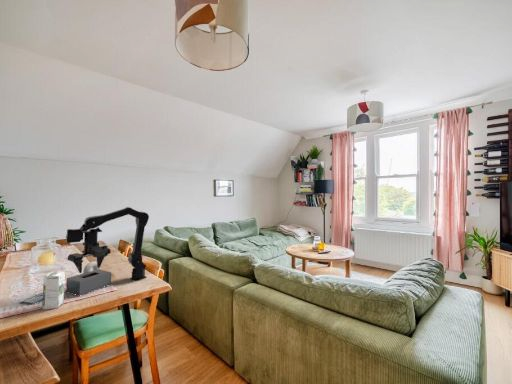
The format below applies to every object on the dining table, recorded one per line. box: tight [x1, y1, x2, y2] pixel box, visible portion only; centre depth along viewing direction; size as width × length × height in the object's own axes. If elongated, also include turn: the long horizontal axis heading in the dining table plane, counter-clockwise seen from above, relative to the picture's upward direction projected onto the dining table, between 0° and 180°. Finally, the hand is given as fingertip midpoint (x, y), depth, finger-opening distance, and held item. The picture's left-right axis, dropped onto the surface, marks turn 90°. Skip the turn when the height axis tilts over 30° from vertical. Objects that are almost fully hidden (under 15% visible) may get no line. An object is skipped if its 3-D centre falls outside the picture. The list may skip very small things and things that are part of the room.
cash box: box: [65, 269, 112, 297], centre depth 125 cm, size 16×11×7 cm
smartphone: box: [19, 292, 43, 306], centre depth 114 cm, size 7×1×15 cm
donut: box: [82, 260, 101, 274], centre depth 139 cm, size 10×3×10 cm, turn 170°
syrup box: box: [41, 271, 66, 311], centre depth 105 cm, size 6×6×14 cm
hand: (89, 270), depth 125 cm, fingers open, 9 cm apart
